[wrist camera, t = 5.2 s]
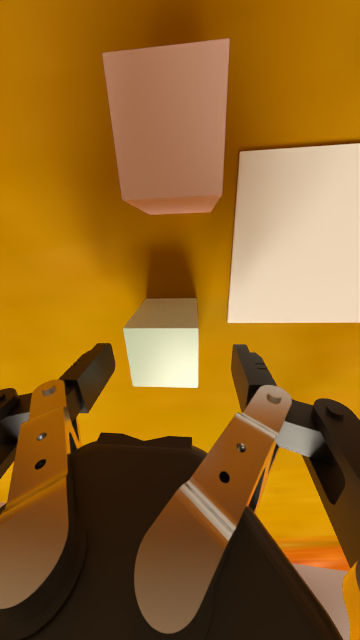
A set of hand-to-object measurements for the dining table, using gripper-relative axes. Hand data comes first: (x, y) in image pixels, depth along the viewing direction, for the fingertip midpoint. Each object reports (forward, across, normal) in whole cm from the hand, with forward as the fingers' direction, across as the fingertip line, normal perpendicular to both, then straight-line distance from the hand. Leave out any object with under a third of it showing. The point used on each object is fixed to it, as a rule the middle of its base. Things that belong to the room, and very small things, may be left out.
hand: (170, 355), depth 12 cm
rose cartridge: (+6, 0, -11) cm, 12 cm away
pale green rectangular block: (+6, 0, 0) cm, 6 cm away
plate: (+6, -10, -6) cm, 13 cm away
